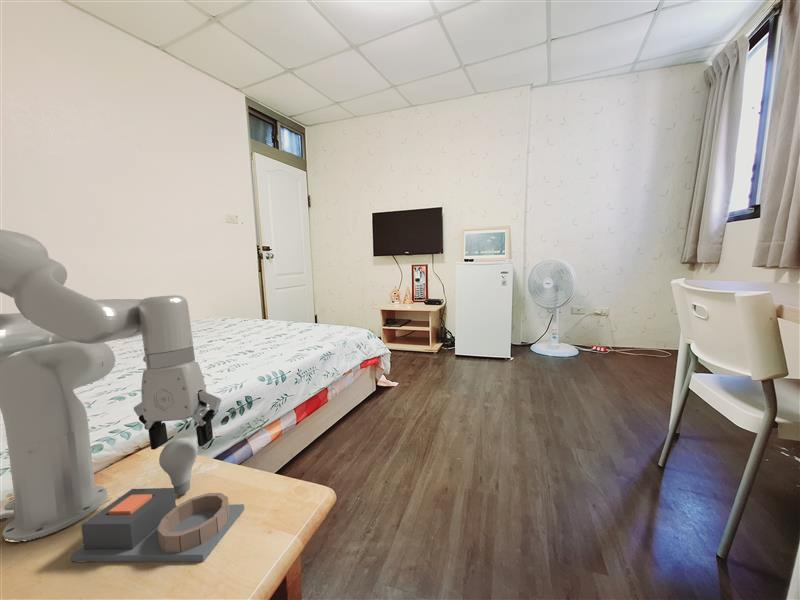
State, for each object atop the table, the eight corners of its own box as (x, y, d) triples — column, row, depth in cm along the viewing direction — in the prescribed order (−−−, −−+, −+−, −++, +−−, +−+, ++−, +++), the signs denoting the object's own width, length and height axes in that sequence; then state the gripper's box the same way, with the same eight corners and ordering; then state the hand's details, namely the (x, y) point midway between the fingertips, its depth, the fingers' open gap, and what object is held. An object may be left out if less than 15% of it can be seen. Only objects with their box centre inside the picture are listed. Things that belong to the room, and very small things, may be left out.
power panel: (71, 562, 44) (67, 529, 44) (135, 511, 54) (132, 485, 54) (203, 561, 43) (200, 528, 43) (244, 509, 53) (241, 482, 53)
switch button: (110, 535, 47) (108, 511, 47) (133, 517, 51) (131, 494, 51) (133, 535, 47) (130, 511, 47) (154, 516, 51) (152, 494, 50)
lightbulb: (181, 506, 55) (175, 448, 54) (154, 504, 56) (149, 447, 56) (208, 484, 61) (203, 432, 60) (184, 482, 62) (179, 431, 62)
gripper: (110, 368, 54) (123, 458, 55) (198, 360, 53) (210, 452, 54) (147, 358, 62) (158, 437, 62) (225, 351, 61) (236, 432, 61)
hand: (182, 444), depth 58 cm, fingers open, 9 cm apart
